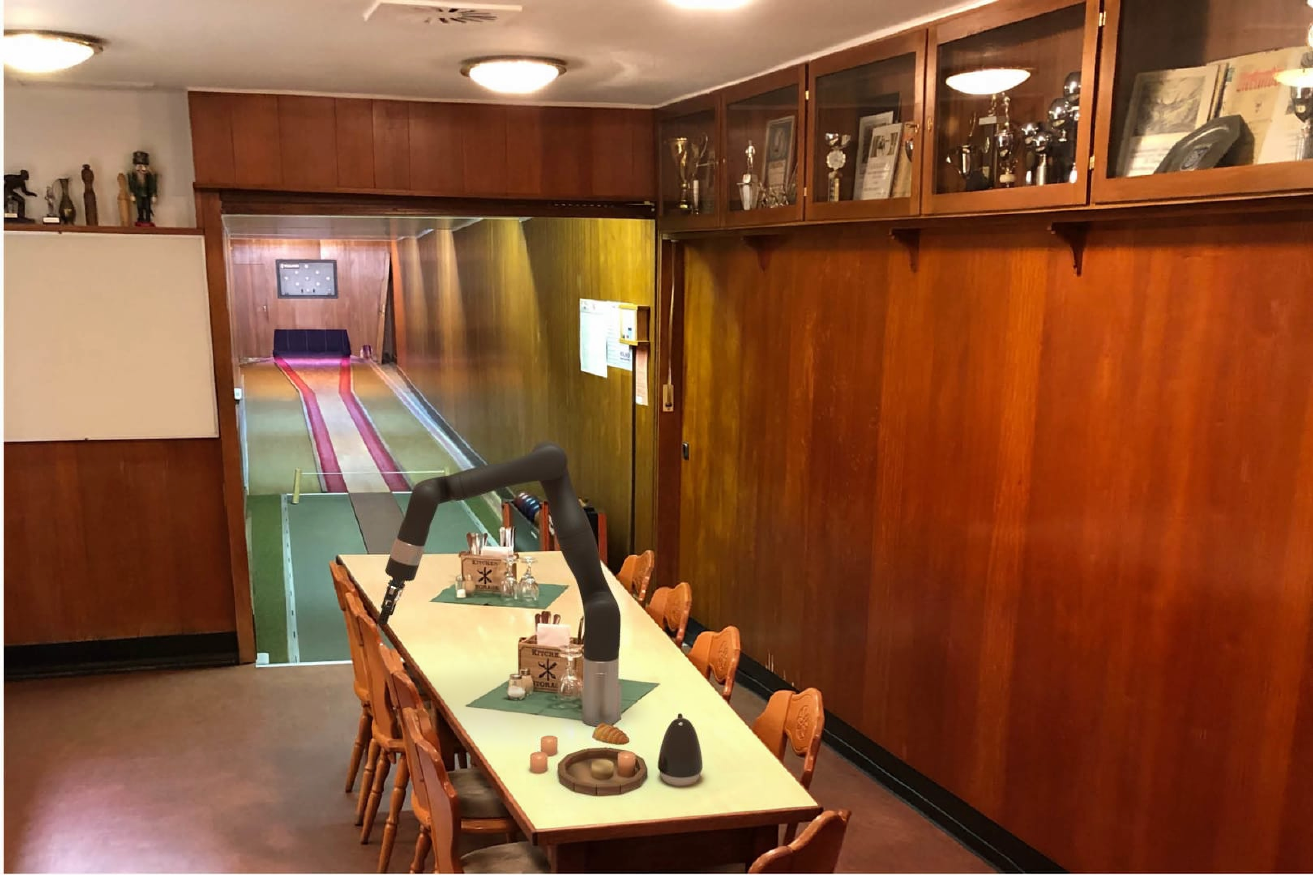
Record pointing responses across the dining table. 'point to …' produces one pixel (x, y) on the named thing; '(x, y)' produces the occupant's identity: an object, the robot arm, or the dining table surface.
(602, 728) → the pastry
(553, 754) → the bead
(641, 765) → the tray
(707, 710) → the dining table surface
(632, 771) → the bead
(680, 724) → the black tapered dome
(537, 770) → the bead
